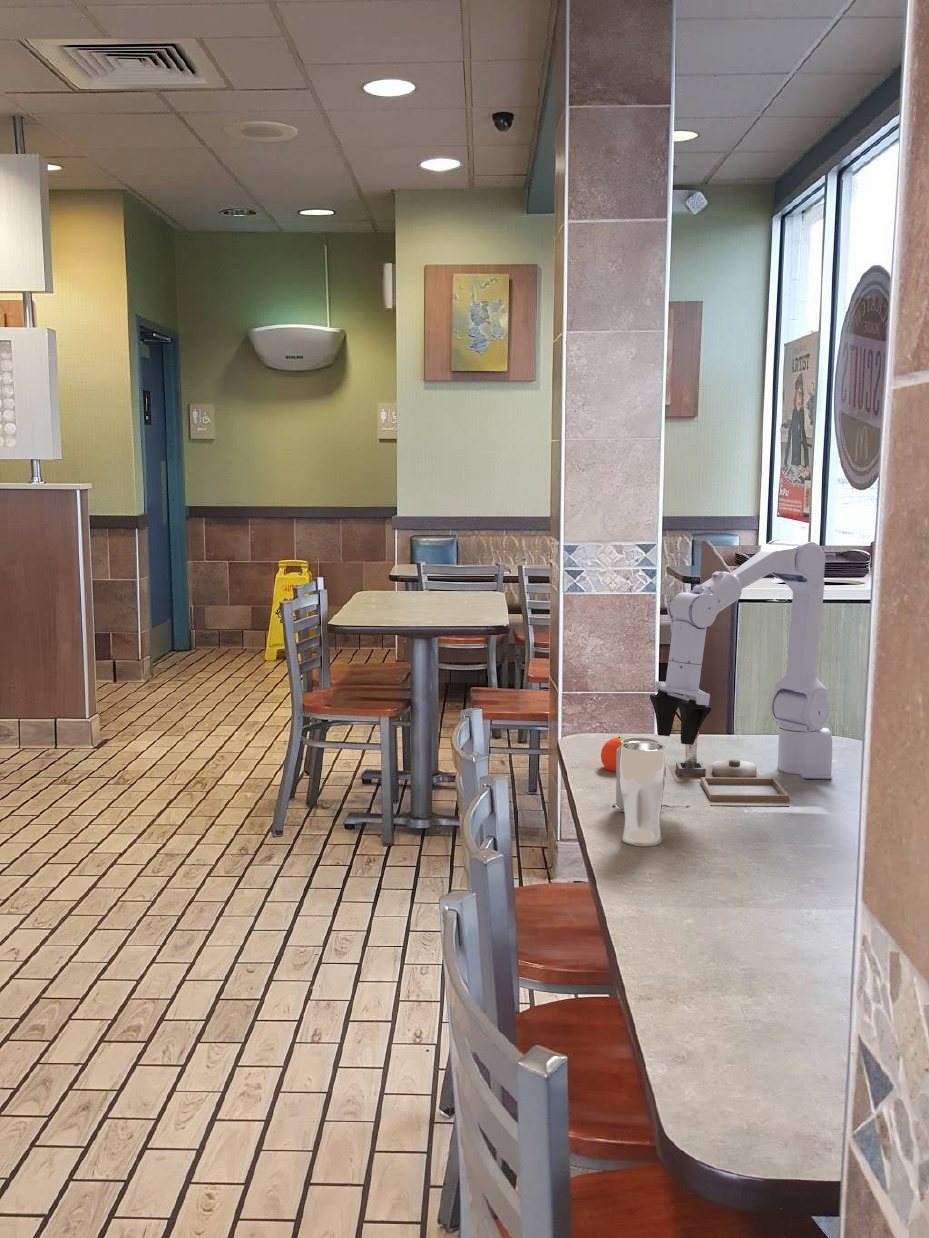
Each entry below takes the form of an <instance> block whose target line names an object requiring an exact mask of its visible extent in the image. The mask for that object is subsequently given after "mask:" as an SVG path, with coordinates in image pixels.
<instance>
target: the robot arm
mask: <svg viewBox="0 0 929 1238" xmlns="http://www.w3.org/2000/svg"><path fill="white" fill-rule="evenodd" d="M825 568H826V552H824V551H823V549H822V548H821V547H820V546H819V544H817V543H816V542H814V541H806V542H805V541H803V542H802V541H789V540H779V539H772V540H770V541H768V542H767V543H766V544H763V545H760V547H759V551H758V552H757V553H755V554H753V555H752V557H749V559H747V560H746V561H745V562H744V563H742V564H741V565H740V566H738V567H737V568H736V569H734V570H733V571H731V572H728V571H714V572H713V573H711V577H710V578H709V579H707V580H705V581H704V582H703V583H701V584H696V585H695V586H693V587H692V589H691V591H689V592H683V591H682V592H680V593H678V594H676V595H675V596H674V597H673V598H672V600H671V601H670V603H669V606H667V607H666V608H667V609H666V610H667V617H668V618H669V621H670V627H669V630H670V632H671V638H670V644H669V645H670V646H669V653H668V654H669V655H668V662H667V670H666V676H665V678H666V679H665V681H658V680H656V681H655V682H654V683H655V684H654V691H653V692H656V694H650V695H649V699H650V702H651V705H652V707H653V710H654V714H655V721H656V722H655V723H656V730H657V731H656V732H657V735H658V736H659V737H660V736H661V737H670V736H671V734H672V731H673V727H674V722H675V721H674V720H675V717H676V714H677V711H679V714H680V744H682V745H685V744H689V745H693V744H694V741H695V739H696V736H697V734H698V732H699V731H700V729H701V726H702V725H703V723H704V721H705V719H707V717H708V716H709V714H710V713H711V712H712V706H709V705H710V699H711V694H710V693H707V692H705V691H703V690H701V689H700V682H701V674H702V667H703V661H704V660H703V659H704V658H703V657H704V649H705V643H706V636H707V635H706V634H707V627H711V626H712V625H714V622H715V620H716V619H717V615H718V614H720V612H721V611H723V610H725V609H726V608H727V607H729V606H731V605H732V604H733V603H735V602H737V601H738V600H740V598H741V597H742V592H743V591H742V590H743V589H745V588H746V587H748V586H750V585H752V584H754V583H756V582H757V581H759V580H761V579H763V578H764V577H766V576H768V575H772V576H773V577H775V578H778V579H779V580H781V581H782V582H784V583H785V584H786V586H788V588H789V589H790V590H791V591H792V600H791V610H790V611H791V613H790V622H789V623H790V624H789V635H788V647H787V648H788V650H787V661H786V669H785V670H786V672H785V675H784V676H782V677H781V678H780V679H779V680H778V681H776V683H775V685H774V687H775V688H774V692H773V695H772V697H771V699H770V705H769V710H770V715H771V716H772V718H773V719H774V720H775V721H776V722H775V725H776V726H778V744H777V745H778V749H777V751H778V752H777V769H778V770H780V771H781V772H785V773H788V774H796V775H797V774H798V775H799V776H801V777H802V779H818V780H819V779H824V780H825V779H828V780H829V779H830V780H831V779H833V775H832V771H833V770H832V769H833V768H832V767H833V736H832V732H831V730H830V729H829V727H824V726H825V725H826V723H827V721H828V719H829V718H830V717H829V716H830V705H829V700H828V691H829V690H828V688H827V687H826V686H825V685H824V684H823V683H822V682H821V681H820V680H819V678H818V677H817V675H818V674H817V673H818V663H819V662H818V661H819V652H820V651H819V650H820V639H821V637H820V636H821V628H822V627H821V626H822V616H823V614H822V613H823V605H824V604H823V603H824V595H825V594H824V592H825ZM682 700H684V701H682ZM686 701H688V702H686ZM678 709H679V710H678Z"/></svg>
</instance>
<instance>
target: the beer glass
mask: <svg viewBox="0 0 929 1238" xmlns="http://www.w3.org/2000/svg"><path fill="white" fill-rule="evenodd" d="M666 772H667V771H666V754H665V745H664V744H662V743H659V742H658V743H656V742H650V741H631V742H626V743H623V744H622V745H621V758H620V785H621V793H622V799H623V804H624V811H625V813H624V824H623V825H624V826H623V831H622V835H621V840H622V842H623V843H625V844H626V845H629V846H633V847H641V848H643V847H645V848H646V847H655V846H657V845H658V846H659V845H660V844H661V843H662V840H663V839H662V835H661V834H662V832H661V826H660V825H661V824H660V815H661V808H662V803H663V797H664V794H665V793H664V791H665V786H666V777H667V776H666Z"/></svg>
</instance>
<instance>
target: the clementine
mask: <svg viewBox="0 0 929 1238" xmlns="http://www.w3.org/2000/svg"><path fill="white" fill-rule="evenodd" d="M623 739H626V737H625V738H624V737H620V736H618V737H612V738H610V739H609V740H608V741H606V742H605V743H604V744H603V746H602V748H601V752H600V760H601V762H602V765H603V766H604V768H605V770H608V771H611V772H615V773H616V762H617V748H618V747H619V746H620V745H621V740H623Z"/></svg>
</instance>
